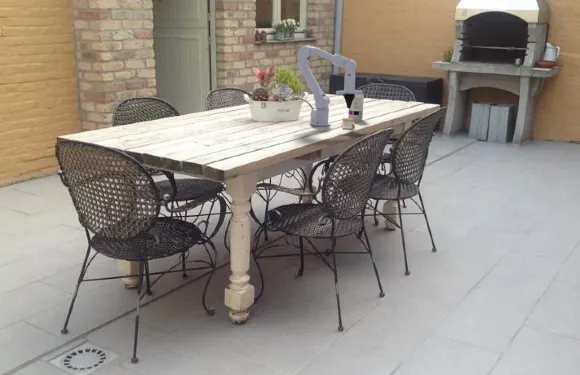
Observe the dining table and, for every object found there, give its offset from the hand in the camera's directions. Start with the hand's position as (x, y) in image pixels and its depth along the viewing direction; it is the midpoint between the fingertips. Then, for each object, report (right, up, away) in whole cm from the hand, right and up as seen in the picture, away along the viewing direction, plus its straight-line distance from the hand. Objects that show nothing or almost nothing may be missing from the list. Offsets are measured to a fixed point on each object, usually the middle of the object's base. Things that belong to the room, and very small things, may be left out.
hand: (348, 108), depth 337 cm
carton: (0, -10, +4) cm, 10 cm away
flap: (0, -7, 0) cm, 7 cm away
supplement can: (+6, -3, +27) cm, 28 cm away
